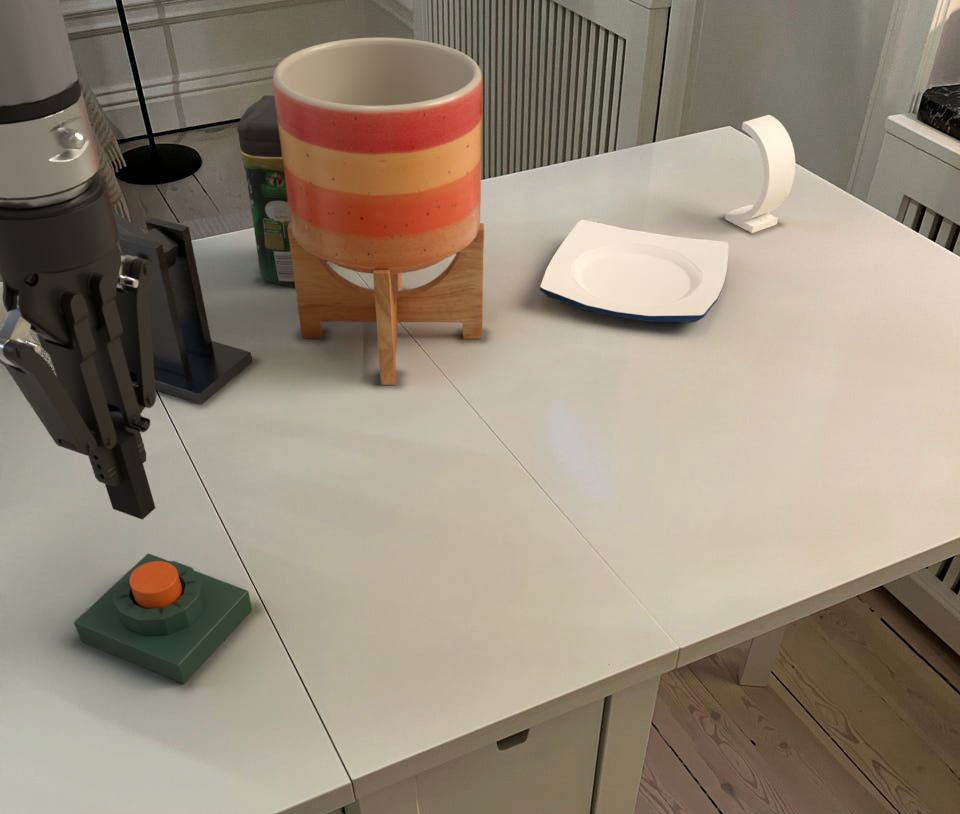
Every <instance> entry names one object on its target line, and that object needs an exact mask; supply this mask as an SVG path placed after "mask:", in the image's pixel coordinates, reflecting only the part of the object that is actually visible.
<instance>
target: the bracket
mask: <svg viewBox="0 0 960 814" xmlns="http://www.w3.org/2000/svg"><path fill="white" fill-rule="evenodd" d="M145 225H146V229H147V232H148V231H150V230H152V229H153V228H155V229H157V230H158V231H160V232H161V233H163V234H164V235H166V236H167V237H169V238H170V239H172V240H173V241H175V242H176V243H178V249H177V256H176V263H175V264H174V265H173V266H171V267H170V268H167V264H166V259H165V255H164V250H163V246H162V244H161V243H157V242H153V241H150V240H146V239H142V238H138V237H134V236H130V235H127V234H124V235H123V236H122V235H121V236H118V239H117V240H118V242H119V247H120V252H121V253H122V254H126V255H130V256H134V257H137V258H141V259H145V260H149V261H150V262H151V263H152V265H153V275H152V281H151V287H150V294H149V307H150V321H151V335H152V350H153V364H154V378H155V391H158V392H160V393H163V394H168V395H170V396H173V397H176V398H180V399H183V400H186V401H189V402H192V403H196V404H199V405H203V404H204V403H205V402H206V401H207V400H209V399H210V398H211V397H212V396H213V395H215V394H216V393H217V392H218V391H219V390H221V389H222V388H223V387H224V386H226V385H227V384H228V383H230V382H231V381H232V380H233V379H234V378H235V377H236V376H238V375H239V374H240V373H241V372H242V371H244V370H245V369H246V368H248V366H250V365H251V364H252V363H253V361H254V360H253V356H252V352H251V351H249V350H245V349H241V348H238V347H235V346H232V345H229V344H224V343H221V342H217V341H215V340H212V337H211V331H210V326H209V322H208V316H207V311H206V307H205V306H206V305H205V301H204V297H203V292H202V291H203V290H202V287H201V281H200V276H199V271H198V267H197V262H196V257H195V251H194V246H193V242H192V236H191V231H190V227H189V226H187V225H183V224H180V223H176V222H172V221H167V220H164V219H160V218H156V217H150V218H149V219H147V220H145ZM133 384H136V385H138V383H137V382H133Z"/></svg>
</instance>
